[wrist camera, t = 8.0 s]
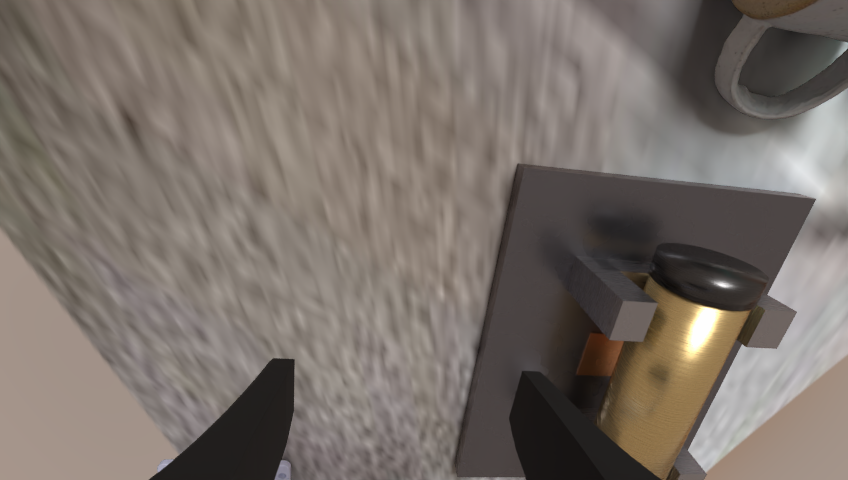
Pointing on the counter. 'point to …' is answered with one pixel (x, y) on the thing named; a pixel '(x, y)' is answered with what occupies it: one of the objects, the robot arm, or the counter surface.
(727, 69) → the ceramic mug
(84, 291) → the counter surface
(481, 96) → the counter surface
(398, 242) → the counter surface
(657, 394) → the brass tube
